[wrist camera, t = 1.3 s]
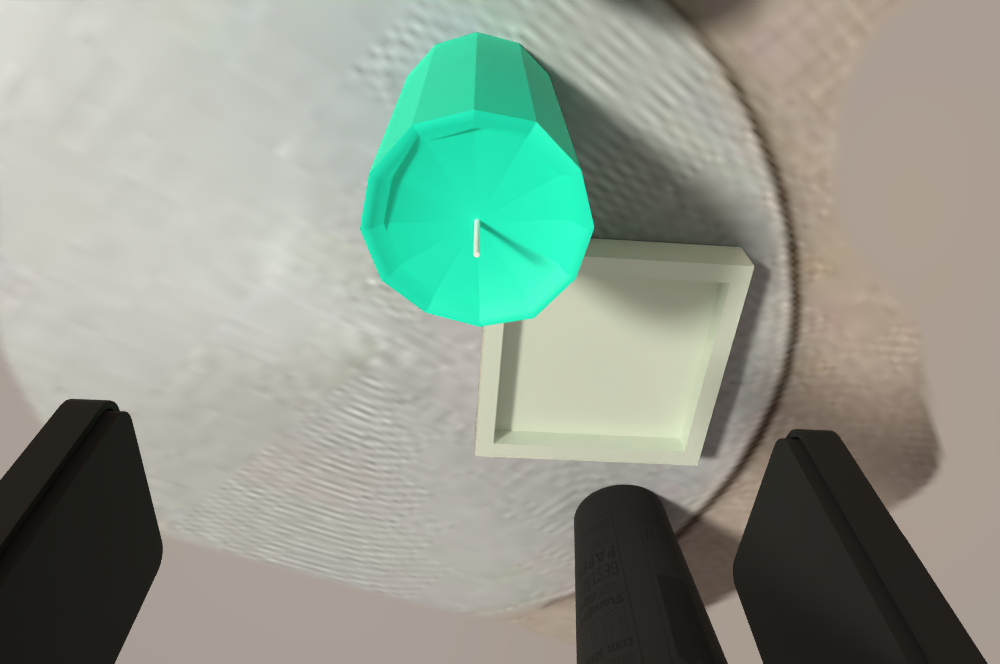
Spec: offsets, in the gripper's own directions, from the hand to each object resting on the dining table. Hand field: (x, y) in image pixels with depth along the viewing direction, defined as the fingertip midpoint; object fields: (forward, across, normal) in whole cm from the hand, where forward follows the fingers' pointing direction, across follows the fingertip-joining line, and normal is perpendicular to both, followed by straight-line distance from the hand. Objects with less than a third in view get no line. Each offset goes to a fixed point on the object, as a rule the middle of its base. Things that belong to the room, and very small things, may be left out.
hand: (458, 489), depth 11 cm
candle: (+20, 0, 0) cm, 20 cm away
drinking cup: (+20, -9, +21) cm, 30 cm away
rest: (+20, -6, +10) cm, 23 cm away
